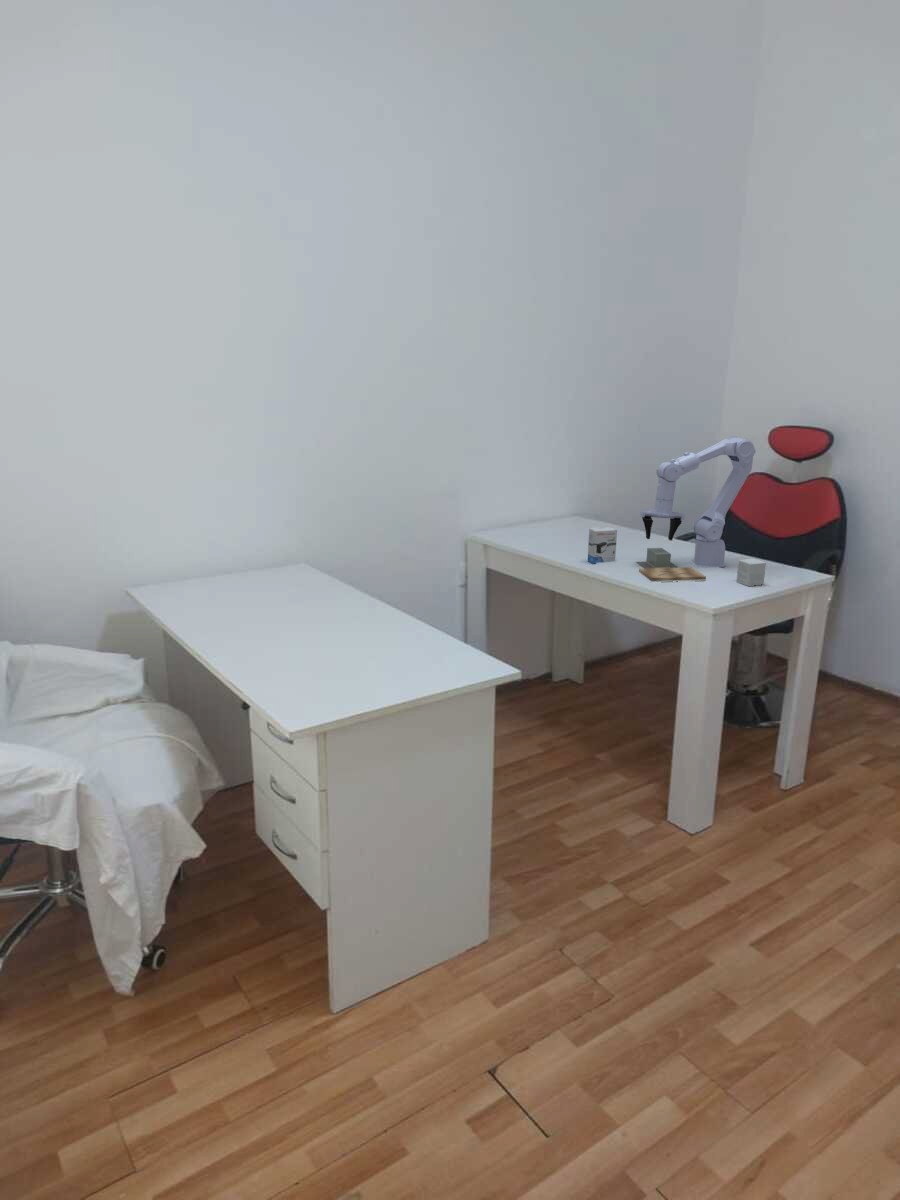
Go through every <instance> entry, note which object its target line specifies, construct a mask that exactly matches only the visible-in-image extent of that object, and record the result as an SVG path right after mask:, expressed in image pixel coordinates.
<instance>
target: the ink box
mask: <svg viewBox="0 0 900 1200" xmlns="http://www.w3.org/2000/svg"><path fill="white" fill-rule="evenodd" d="M617 534H618V530H617V529H615V528H613V527H612V526H602V527H601V526H600V527H591V528H589V531H588V549H587V562H589V563H591V564H592V565H597V563H610V562H616V556H617V555H616V554H617V553H616V551H617V537H618V536H617Z"/></svg>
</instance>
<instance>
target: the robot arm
mask: <svg viewBox="0 0 900 1200" xmlns="http://www.w3.org/2000/svg"><path fill="white" fill-rule="evenodd" d="M755 454H756V448H755V445H754V443H753V441H752V440H750V439H747V438H746V439H745V438H742V437H741V438H740V437H737V436H729V437H728V438H724V439H722V440H720V441H719V442H717V443H715V444H713V445H711V446H709V447H707V448H705V449H703V450H701V451H699V452H697V453H694V452H689V451H686V452H684V453H683V455H682V456H680V457H677V458H672V459H671V460H670V462H668V461H666V462H665V461H664V462H662V463H661V464H660V465H659V466H658V468H657V469H656V471H655V472H656V476H657V477H658V480H657V481H658V482H657V488H656V496H655V502H654V509H653V510H641V509H640V513H639V515H640V516H639V517H641V518H642V519H641V520H642V521H643V525H644V528H645V529H644V530H645V539H647V540H650V539H651V533H652V526H653V523H654V520H653V518H656V519H669V532H668V535H667V536H668V537H667V540H669V541H673V538H674V536H675V534H676V532H677V531H678V528H679V527H680V526H681V524H682V521H683V520H685V516H686V514H685V513H684V512H674V511H673V506H674V499H675V494H676V493H675V492H676V484H677V481H678V480H679V479H680V477H681V476H684V475H686V474H688V473H690V472H692V471H694V470H698V468H699V467H700V464H702V463H704V462H707V461H710V460H712V459H714V458H717V457H719V456H723V455H724V456H727V457H728V458H729V460H730V461H731V465H732V469H731V472H730V473H729V475H728V477H727V478H726V480H725V481H724V484H723V485H722V487H721V489H720V491H719V492H718V494H717V495H716V498H715V499H714V501H713V503H712V504H711V507H709V509H707V510H706V511H704V512H703V513H702V515H701V516H700V517H699V518H698V519H697V520H696V521H695V522H694V524H693V531H694V533H695V535H696V536H695V547H694V557H693V558H694V559H693V560H689V562H690V563H691V564H692V565H694V566H696V567H697V568H701V567H702V568H703V567H705V568H707V567H718V568H725V557H726V556H725V554H726V544H725V541H724V540H723V539H720V538H721V537H722V534H723V530H724V526H725V525H726V519H725V516H726V514H727V513H728V511H729V509H730V508H731V506H732V504H733V503H734V501H735V499H736V498H737V496H738V494H739V492H740V491H741V489H742V487H743V485H744V484H745V482H746V480H747V478H748V477H749V475H750V473H751V472H752V467H753V459H754V456H755Z"/></svg>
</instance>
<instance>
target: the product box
mask: <svg viewBox="0 0 900 1200" xmlns="http://www.w3.org/2000/svg"><path fill="white" fill-rule="evenodd" d="M766 566H767V563H766V562H765V561H762V560H759V559H756V558H754V557H753V558H746V559H738V563H737V573H736V583H738V584H741V585H744V586H746V587H755V586H754V585H756V586H762V585H761V584H763V585H765V577H766V576H765V575H766V568H767V567H766Z"/></svg>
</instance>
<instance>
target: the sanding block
mask: <svg viewBox="0 0 900 1200" xmlns="http://www.w3.org/2000/svg"><path fill="white" fill-rule="evenodd" d="M671 557H672V554H671V552H669V551H668V550H665V549H664V548H663V547H647V549H646V560H645V562H647V563H648V564H649V565H651V566H652V567H653V568H670V562H671Z"/></svg>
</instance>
